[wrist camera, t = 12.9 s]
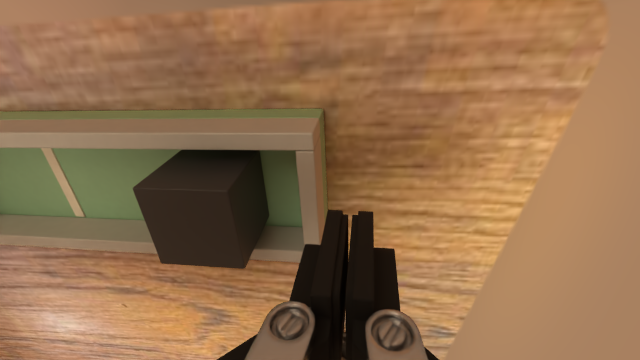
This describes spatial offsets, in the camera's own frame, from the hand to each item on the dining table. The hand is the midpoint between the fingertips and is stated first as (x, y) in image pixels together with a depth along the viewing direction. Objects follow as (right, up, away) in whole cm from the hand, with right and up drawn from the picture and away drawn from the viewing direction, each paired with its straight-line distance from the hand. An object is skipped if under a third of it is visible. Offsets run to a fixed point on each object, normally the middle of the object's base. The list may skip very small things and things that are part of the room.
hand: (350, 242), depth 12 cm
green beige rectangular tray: (-12, +3, +7) cm, 14 cm away
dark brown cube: (-6, +2, +5) cm, 8 cm away
